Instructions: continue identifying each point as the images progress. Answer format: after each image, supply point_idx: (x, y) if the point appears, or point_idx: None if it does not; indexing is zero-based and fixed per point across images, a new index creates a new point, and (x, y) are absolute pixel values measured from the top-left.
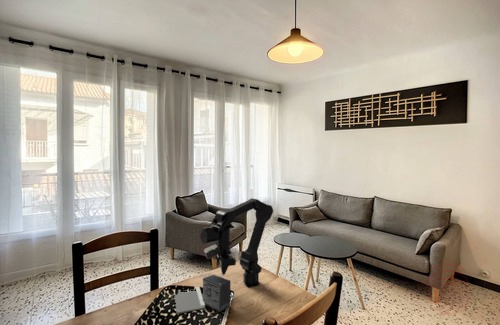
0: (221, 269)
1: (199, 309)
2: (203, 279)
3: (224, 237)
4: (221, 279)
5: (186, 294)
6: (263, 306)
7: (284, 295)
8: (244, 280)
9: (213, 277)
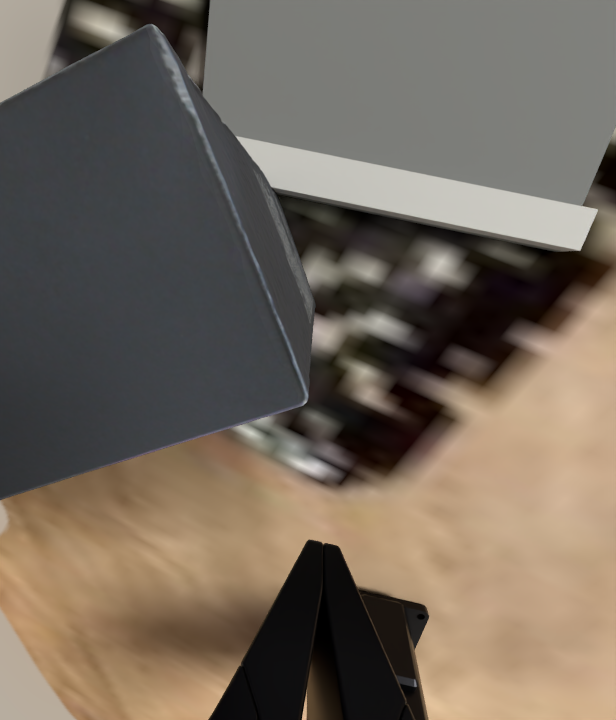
0: (301, 626)
1: None
2: (135, 42)
3: None
4: None
5: (539, 62)
6: (76, 535)
7: (139, 667)
8: (378, 620)
9: (99, 327)
